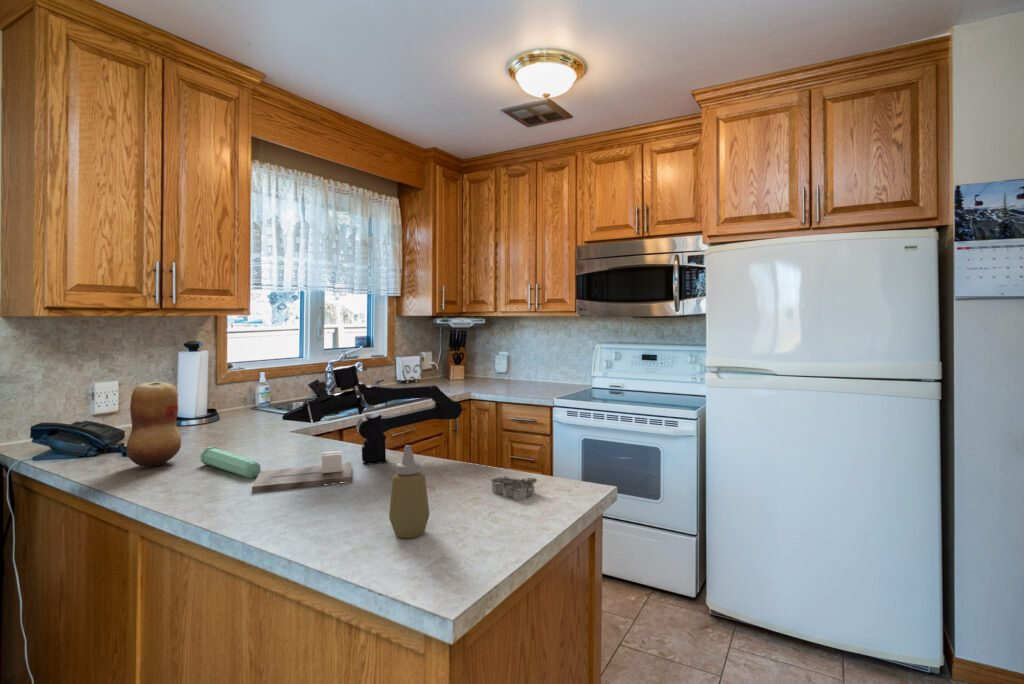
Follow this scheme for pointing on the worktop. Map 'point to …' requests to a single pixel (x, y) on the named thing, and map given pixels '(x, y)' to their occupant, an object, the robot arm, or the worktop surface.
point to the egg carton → (513, 487)
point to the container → (230, 462)
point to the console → (299, 478)
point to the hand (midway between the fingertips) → (283, 416)
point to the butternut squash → (153, 424)
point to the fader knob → (331, 462)
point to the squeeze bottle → (408, 498)
